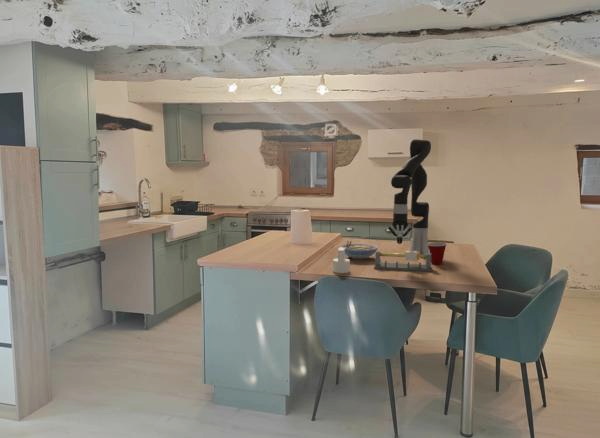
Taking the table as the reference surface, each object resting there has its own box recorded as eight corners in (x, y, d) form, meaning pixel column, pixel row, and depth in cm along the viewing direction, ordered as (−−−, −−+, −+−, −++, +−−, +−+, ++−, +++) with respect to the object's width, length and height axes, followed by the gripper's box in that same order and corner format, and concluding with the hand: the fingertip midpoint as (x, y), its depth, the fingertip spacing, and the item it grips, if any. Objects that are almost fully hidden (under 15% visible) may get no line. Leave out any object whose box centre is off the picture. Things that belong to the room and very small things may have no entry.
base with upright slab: (349, 273, 232) (349, 250, 231) (332, 272, 234) (332, 250, 232) (350, 269, 241) (350, 247, 240) (333, 268, 243) (333, 247, 241)
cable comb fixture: (374, 268, 242) (374, 253, 241) (375, 264, 254) (375, 249, 253) (431, 271, 236) (432, 255, 235) (430, 267, 247) (430, 251, 246)
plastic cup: (425, 261, 262) (426, 241, 261) (444, 262, 260) (445, 241, 259) (427, 265, 251) (427, 244, 250) (447, 266, 249) (448, 245, 248)
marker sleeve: (405, 260, 242) (405, 239, 240) (405, 258, 246) (405, 238, 245) (416, 261, 240) (417, 239, 239) (416, 259, 245) (417, 238, 244)
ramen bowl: (377, 263, 256) (377, 249, 255) (337, 261, 261) (337, 248, 260) (378, 255, 281) (378, 242, 280) (342, 253, 285) (342, 241, 284)
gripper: (387, 212, 240) (387, 244, 242) (413, 213, 237) (412, 245, 239) (388, 211, 247) (387, 242, 249) (412, 211, 244) (411, 243, 246)
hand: (399, 243), depth 244 cm, fingers closed
